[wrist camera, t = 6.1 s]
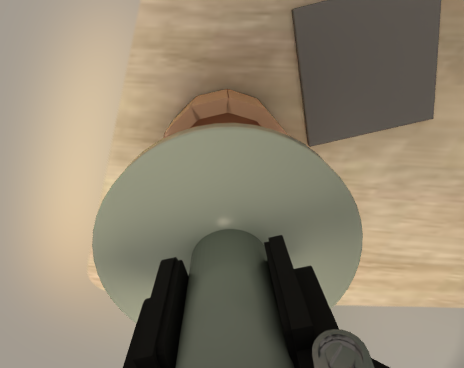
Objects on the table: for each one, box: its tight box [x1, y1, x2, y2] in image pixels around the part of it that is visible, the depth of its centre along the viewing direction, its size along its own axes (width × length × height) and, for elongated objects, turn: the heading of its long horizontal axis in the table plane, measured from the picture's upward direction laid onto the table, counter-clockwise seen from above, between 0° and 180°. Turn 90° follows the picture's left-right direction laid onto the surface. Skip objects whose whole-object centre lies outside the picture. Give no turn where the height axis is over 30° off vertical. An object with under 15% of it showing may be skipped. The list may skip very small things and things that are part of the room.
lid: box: [92, 123, 363, 368], centre depth 10 cm, size 11×11×7 cm
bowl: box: [163, 89, 288, 139], centre depth 24 cm, size 10×10×5 cm
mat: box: [292, 0, 441, 146], centre depth 24 cm, size 11×11×1 cm
